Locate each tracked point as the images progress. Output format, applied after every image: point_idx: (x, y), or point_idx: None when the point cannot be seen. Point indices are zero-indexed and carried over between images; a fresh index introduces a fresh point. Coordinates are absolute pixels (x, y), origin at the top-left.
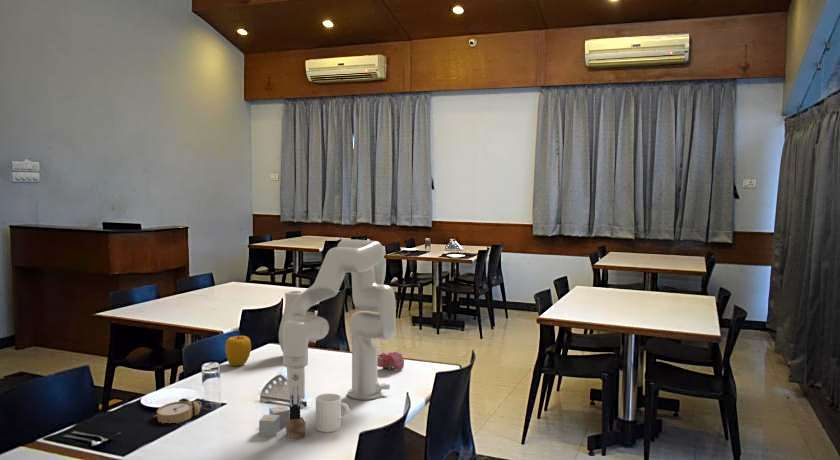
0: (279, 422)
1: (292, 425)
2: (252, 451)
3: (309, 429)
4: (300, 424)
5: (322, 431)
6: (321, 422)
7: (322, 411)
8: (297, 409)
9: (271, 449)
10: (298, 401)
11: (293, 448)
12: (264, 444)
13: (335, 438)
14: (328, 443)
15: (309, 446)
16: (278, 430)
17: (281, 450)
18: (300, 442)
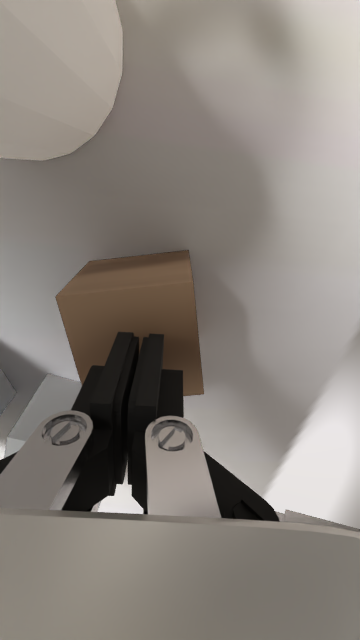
0: (30, 401)
1: (201, 368)
2: (267, 472)
3: (52, 208)
4: (195, 315)
5: (108, 112)
6: (86, 109)
7: (54, 67)
8: (182, 416)
9: (277, 413)
10: (246, 519)
11: (309, 324)
12: (212, 435)
13: (262, 11)
14: (331, 95)
15: (322, 238)
16: (67, 383)
17: (307, 377)
18: (245, 283)
